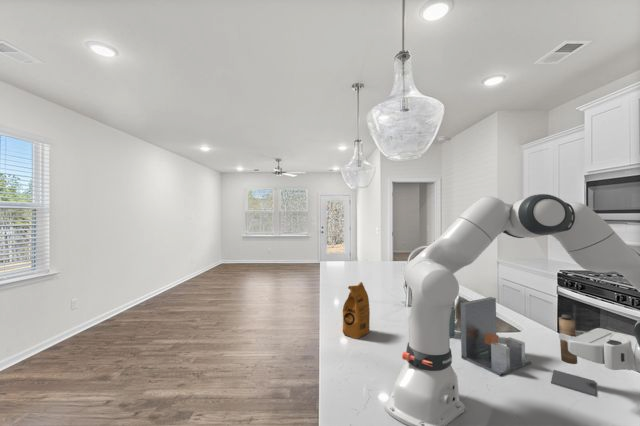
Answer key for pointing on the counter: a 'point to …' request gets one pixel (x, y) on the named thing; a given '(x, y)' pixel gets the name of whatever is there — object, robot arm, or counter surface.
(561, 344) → the brown bottle
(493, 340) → the breaker toggle
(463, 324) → the grey l-shaped stand
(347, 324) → the coffee package
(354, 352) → the counter surface
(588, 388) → the bar
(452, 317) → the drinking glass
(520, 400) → the counter surface
